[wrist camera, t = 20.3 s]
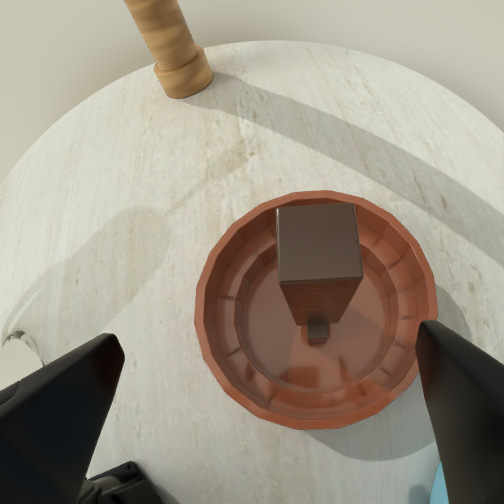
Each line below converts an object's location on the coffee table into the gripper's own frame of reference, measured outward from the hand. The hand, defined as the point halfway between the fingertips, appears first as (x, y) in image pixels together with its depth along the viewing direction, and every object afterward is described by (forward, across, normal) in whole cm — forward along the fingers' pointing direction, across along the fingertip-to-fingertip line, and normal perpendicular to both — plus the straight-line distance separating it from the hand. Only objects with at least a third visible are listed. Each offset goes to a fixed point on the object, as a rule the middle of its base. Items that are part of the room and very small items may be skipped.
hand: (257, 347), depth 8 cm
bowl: (+12, -2, +7) cm, 14 cm away
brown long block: (+11, -2, +7) cm, 13 cm away
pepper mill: (+32, +11, -13) cm, 36 cm away
